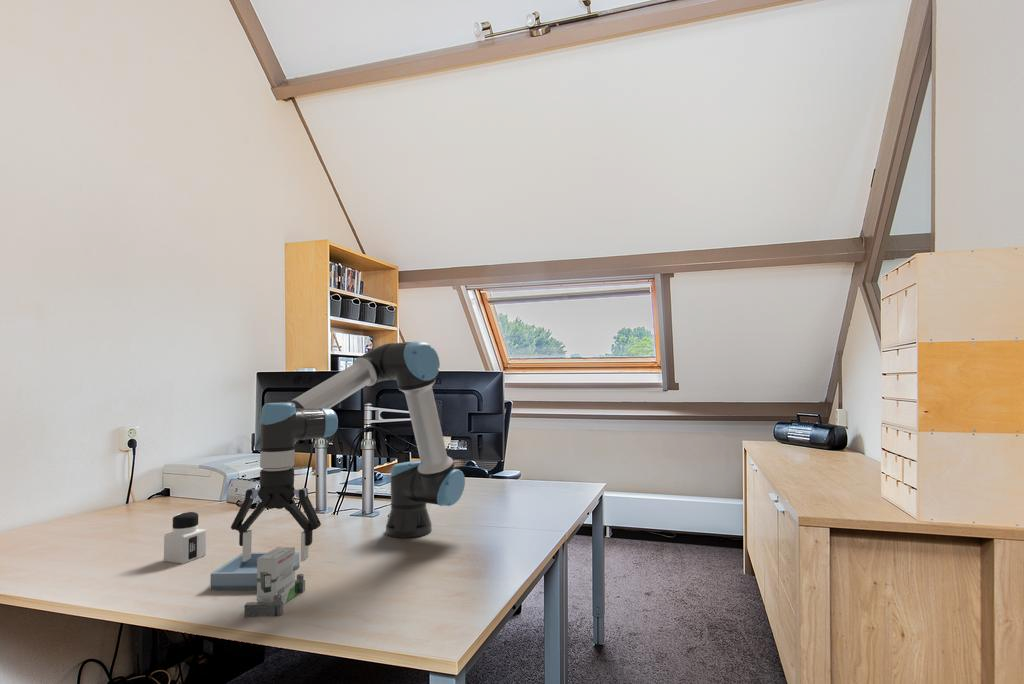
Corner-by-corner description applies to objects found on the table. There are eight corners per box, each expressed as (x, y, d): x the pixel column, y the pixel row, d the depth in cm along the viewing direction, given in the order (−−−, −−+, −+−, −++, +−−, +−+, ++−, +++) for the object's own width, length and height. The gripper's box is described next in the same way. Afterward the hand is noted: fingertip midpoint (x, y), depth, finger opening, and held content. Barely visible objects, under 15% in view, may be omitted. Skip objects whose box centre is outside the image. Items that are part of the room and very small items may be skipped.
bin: (299, 566, 155) (299, 552, 155) (274, 589, 139) (274, 573, 139) (242, 567, 155) (242, 552, 155) (210, 590, 139) (210, 573, 140)
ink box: (277, 595, 136) (277, 545, 136) (296, 596, 135) (296, 546, 136) (255, 610, 127) (256, 557, 128) (275, 611, 126) (276, 558, 127)
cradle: (305, 590, 138) (305, 573, 139) (280, 616, 124) (280, 597, 124) (273, 590, 138) (273, 574, 139) (244, 616, 124) (244, 598, 124)
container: (206, 555, 166) (206, 511, 166) (183, 564, 159) (184, 517, 159) (186, 553, 168) (187, 509, 169) (163, 561, 161) (163, 515, 162)
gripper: (334, 465, 136) (333, 554, 135) (233, 465, 137) (230, 554, 135) (324, 470, 129) (322, 564, 127) (216, 471, 129) (214, 565, 128)
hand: (275, 559), depth 131 cm, fingers open, 13 cm apart
